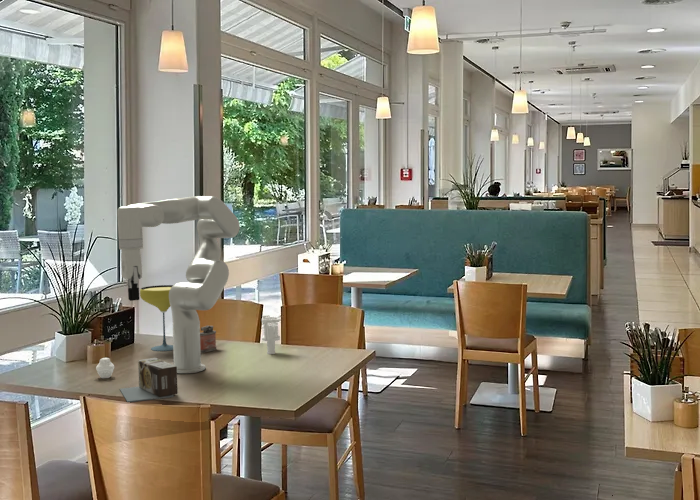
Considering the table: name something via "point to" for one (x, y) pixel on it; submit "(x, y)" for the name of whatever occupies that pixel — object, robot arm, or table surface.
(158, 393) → the coffee box
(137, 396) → the rubber mat
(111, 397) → the table surface
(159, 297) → the cocktail glass
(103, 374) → the white rounded jar
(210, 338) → the lighter
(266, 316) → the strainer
